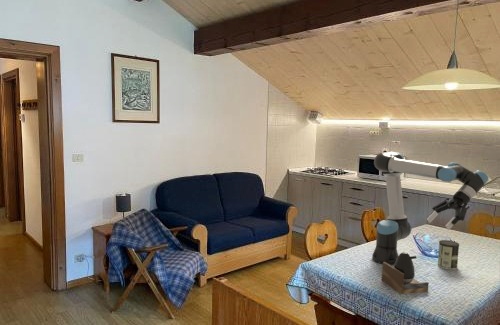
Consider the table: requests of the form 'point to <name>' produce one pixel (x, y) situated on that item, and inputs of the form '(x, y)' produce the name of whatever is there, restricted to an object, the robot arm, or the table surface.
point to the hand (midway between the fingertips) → (437, 224)
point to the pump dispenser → (405, 266)
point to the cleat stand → (401, 281)
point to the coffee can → (448, 254)
